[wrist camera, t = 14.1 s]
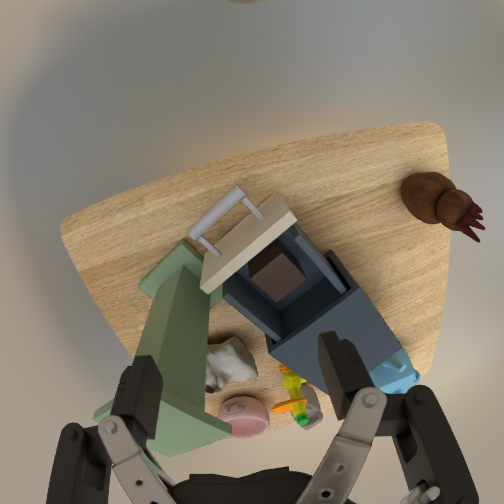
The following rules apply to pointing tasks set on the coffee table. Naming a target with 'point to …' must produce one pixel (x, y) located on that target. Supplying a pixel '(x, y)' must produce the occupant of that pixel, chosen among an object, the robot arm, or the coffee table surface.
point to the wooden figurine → (441, 203)
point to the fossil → (311, 407)
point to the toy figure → (293, 396)
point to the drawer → (250, 244)
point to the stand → (179, 352)
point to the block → (276, 270)
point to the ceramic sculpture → (228, 364)
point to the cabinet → (337, 332)
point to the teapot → (395, 374)
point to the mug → (245, 417)
